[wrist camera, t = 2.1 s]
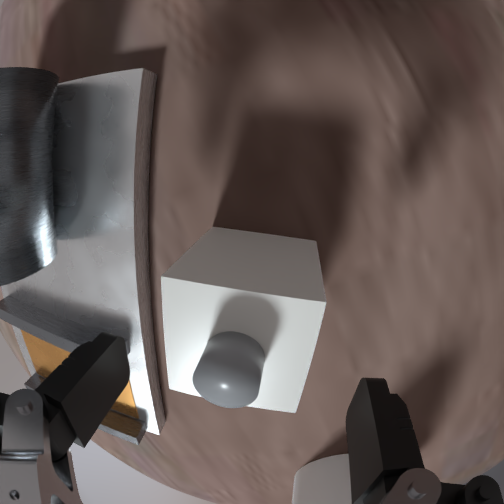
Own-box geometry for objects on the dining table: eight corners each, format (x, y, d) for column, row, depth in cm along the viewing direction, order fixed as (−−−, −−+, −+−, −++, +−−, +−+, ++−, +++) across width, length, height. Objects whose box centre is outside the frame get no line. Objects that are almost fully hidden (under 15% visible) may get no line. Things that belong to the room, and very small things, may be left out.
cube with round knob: (212, 226, 14) (138, 298, 8) (316, 240, 14) (330, 331, 7) (208, 314, 16) (155, 415, 9) (299, 328, 16) (293, 443, 9)
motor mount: (1, 106, 14) (-107, 119, 4) (157, 74, 12) (-13, 21, 3) (41, 370, 22) (-16, 433, 13) (165, 421, 21) (118, 521, 11)
